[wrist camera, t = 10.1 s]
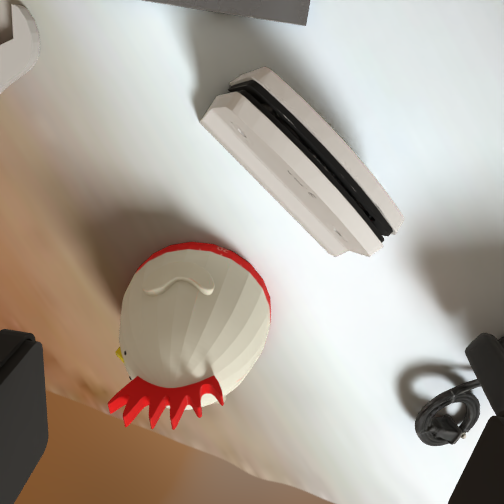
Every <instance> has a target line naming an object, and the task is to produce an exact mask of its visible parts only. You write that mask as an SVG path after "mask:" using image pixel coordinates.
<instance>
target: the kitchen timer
mask: <svg viewBox="0 0 504 504" xmlns="http://www.w3.org/2000/svg"><path fill="white" fill-rule="evenodd" d="M270 323H271V306H270V296H269V293H268V291H267V288H266V286H265V283H264V281H263V279H262V278H261V276H260V275H259V274H258V273H257V271H256V270H255V269H254V268H253V266H252V265H251V264H250V263H248V262H247V261H246V260H244V259H243V258H241V257H240V256H239V255H237V254H236V253H235V252H233V251H230V250H228V249H225V248H222V247H220V246H217V245H214V244H208V243H199V242H187V243H181V244H175V245H170V246H168V247H166V248H164V249H162V250H160V251H158V252H156V253H153V254H152V255H151V256H150V257H149V258H148V259H147V260H146V261H145V262H144V263H143V264H142V265H141V266H140V267H139V268H138V270H137V271H136V273H135V274H134V276H133V278H132V280H131V282H130V284H129V286H128V288H127V290H126V292H125V294H124V298H123V302H122V310H121V318H120V330H119V343H120V347H119V348H118V350H117V351H116V352H115V353H116V355H117V356H118V357H119V358H120V359H121V360H122V362H123V363H124V365H125V368H126V370H127V372H128V374H129V375H130V376H129V378H130V379H131V380H132V381H131V382H130V383H128V384H127V385H126V386H125V387H124V388H123V389H121V390H120V391H119V392H118V393H117V394H116V395H115V396H114V397H113V398H112V399H111V400H110V401H109V402H108V407H109V411H110V414H111V413H113V412H115V411H116V410H118V409H119V408H121V407H122V406H124V405H126V407H125V410H124V412H123V420H124V423H125V427H127V426H128V425H129V424H130V423H131V422H132V421H133V420H134V418H135V417H136V416H137V415H138V414H139V412H140V411H141V410H142V409H143V408H144V407H145V406H147V405H149V420H150V425H151V429H153V428H154V427H155V425H156V423H157V421H158V419H159V417H160V416H161V414H162V412H163V410H164V409H165V408H166V407H167V408H170V419H171V425H172V429H173V430H174V429H175V428H176V426H177V424H178V422H179V420H180V418H181V416H182V414H183V412H184V410H188V409H194V411H195V413H196V415H197V416H198V417H199V418H200V417H201V416H202V408H201V407H203V406H206V405H209V404H212V403H220V404H221V405H222V406H223V405H224V403H223V402H224V401H225V399H226V395H227V394H228V393H229V392H231V391H232V390H234V389H235V388H236V387H237V386H238V385H239V384H240V383H241V382H242V381H243V379H244V378H245V376H246V375H247V374H248V372H249V371H250V370H251V368H252V367H253V365H254V364H255V362H256V361H257V359H258V357H259V356H260V354H261V352H262V350H263V348H264V345H265V342H266V338H267V335H268V332H269V328H270Z"/></svg>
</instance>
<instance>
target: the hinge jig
mask: <svg viewBox="0 0 504 504" xmlns="http://www.w3.org/2000/svg"><path fill="white" fill-rule="evenodd" d="M142 1H148V2H155V3H161V4H167V5H174V6H180V7H187V8H193V9H199V10H206V11H212V12H219V13H225V14H232V15H238V16H244V17H251V18H257V19H264V20H270V21H276V22H283V23H289V24H296V25H302V26H306V22H307V17H308V11H309V5H310V0H142Z"/></svg>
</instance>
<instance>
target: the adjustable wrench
mask: <svg viewBox="0 0 504 504" xmlns="http://www.w3.org/2000/svg"><path fill="white" fill-rule="evenodd" d="M11 7H12V25H13V39H12V40H9V41H7V42H5V43H3V44H1V45H0V94H1V93H2V92H3V91H4V90H5V89H6V88H7V87H8V86H9V85H10V84H12V83H13V82H14V81H16V80H17V79H18V78H20V77H21V76H23V75H24V74H25V73H27V72H28V71H30V70H31V69H32V67H33V66H34V65H35V63H36V61H37V59H38V57H39V53H40V37H39V32H38V29H37V26H36V22H35V20H34V18H33V17H32V15H31V14H30V12H29V10H28V9H27V8H26V7H24V6H21V5H15V4H11Z"/></svg>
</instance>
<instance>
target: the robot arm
mask: <svg viewBox="0 0 504 504" xmlns="http://www.w3.org/2000/svg"><path fill="white" fill-rule="evenodd" d="M47 442H48V423H47V407H46V393H45V377H44V362H43V348H42V344H41V343H40V342H37V341H35V337H34V335H33V334H31V333H26V332H20V331H14V330H8V329H3V330H1V331H0V504H14V502H15V500H16V499H17V497H18V495H19V494H20V492H21V490H22V489H23V487H24V485H25V483H26V482H27V480H28V478H29V477H30V475H31V473H32V472H33V470H34V468H35V467H36V465H37V463H38V462H39V460H40V458H41V456H42V455H43V453H44V451H45V448H46V445H47ZM448 504H504V410H502V411H501V412H499V413H498V415H497V416H492V417H490V419H489V420H488V422H487V424H486V426H485V428H484V430H483V432H482V434H481V436H480V438H479V440H478V442H477V444H476V446H475V448H474V451H473V453H472V455H471V457H470V459H469V461H468V463H467V465H466V467H465V469H464V471H463V473H462V475H461V477H460V479H459V481H458V483H457V485H456V487H455V489H454V491H453V493H452V495H451V497H450V499H449V502H448Z"/></svg>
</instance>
